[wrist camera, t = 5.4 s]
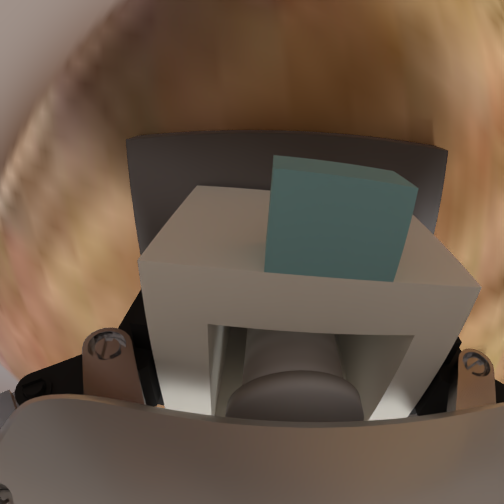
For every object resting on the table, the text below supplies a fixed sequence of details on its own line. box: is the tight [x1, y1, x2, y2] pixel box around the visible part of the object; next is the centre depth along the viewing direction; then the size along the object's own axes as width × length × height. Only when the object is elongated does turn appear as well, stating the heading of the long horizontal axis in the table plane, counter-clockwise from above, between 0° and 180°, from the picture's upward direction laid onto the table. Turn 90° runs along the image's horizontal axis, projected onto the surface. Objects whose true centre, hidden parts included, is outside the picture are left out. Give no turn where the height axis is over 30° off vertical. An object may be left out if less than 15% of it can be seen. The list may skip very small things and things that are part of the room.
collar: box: [138, 155, 481, 421], centre depth 9 cm, size 9×7×5 cm
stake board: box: [126, 130, 448, 422], centre depth 9 cm, size 11×11×7 cm
